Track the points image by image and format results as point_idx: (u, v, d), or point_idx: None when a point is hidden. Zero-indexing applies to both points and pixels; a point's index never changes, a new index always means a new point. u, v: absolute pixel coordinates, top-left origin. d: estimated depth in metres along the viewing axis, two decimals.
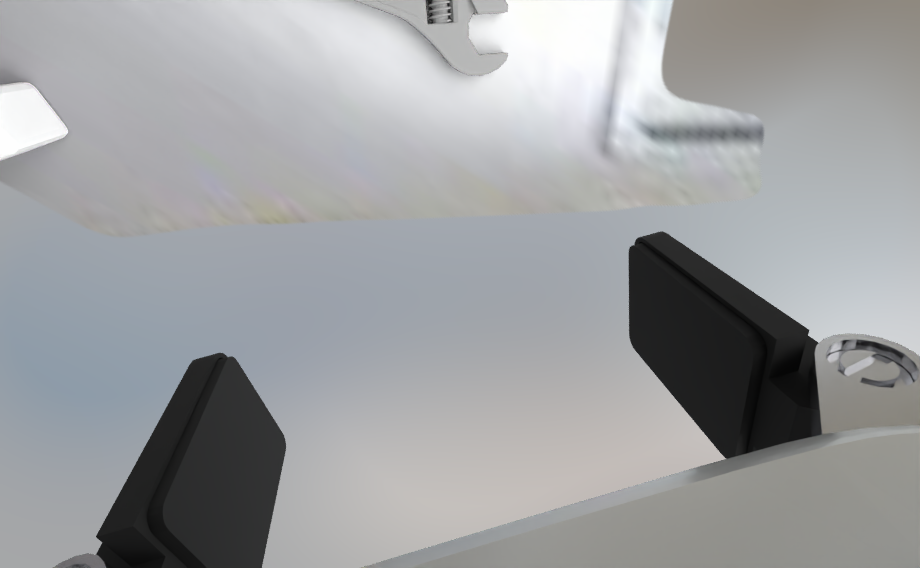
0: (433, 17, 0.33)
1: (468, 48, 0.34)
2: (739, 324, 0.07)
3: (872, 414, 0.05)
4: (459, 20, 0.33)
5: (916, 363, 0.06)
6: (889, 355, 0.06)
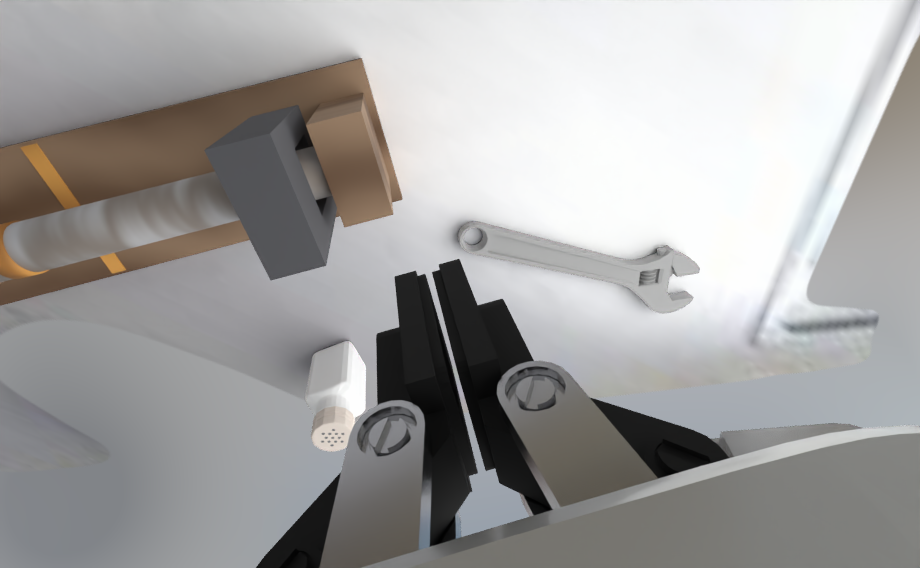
0: (643, 281, 0.42)
1: (665, 297, 0.44)
2: (458, 350, 0.08)
3: (561, 436, 0.06)
4: (662, 281, 0.43)
5: (557, 371, 0.07)
6: (539, 371, 0.07)
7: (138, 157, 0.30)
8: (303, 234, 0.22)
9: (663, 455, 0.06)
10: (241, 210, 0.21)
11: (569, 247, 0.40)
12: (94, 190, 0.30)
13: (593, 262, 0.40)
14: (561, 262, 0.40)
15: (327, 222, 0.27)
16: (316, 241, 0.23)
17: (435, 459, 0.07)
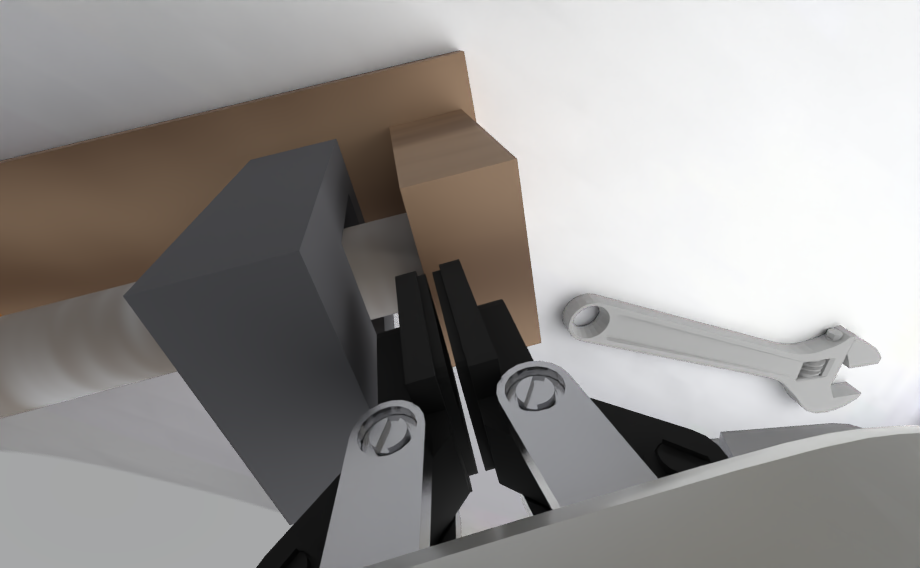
0: (804, 374, 0.30)
1: (826, 393, 0.31)
2: (458, 351, 0.08)
3: (561, 436, 0.06)
4: (828, 374, 0.30)
5: (557, 371, 0.07)
6: (538, 371, 0.07)
7: (77, 217, 0.17)
8: None
9: (663, 455, 0.06)
10: (225, 414, 0.09)
11: (716, 330, 0.27)
12: (4, 271, 0.18)
13: (745, 351, 0.28)
14: (702, 351, 0.27)
15: None
16: None
17: (435, 459, 0.07)
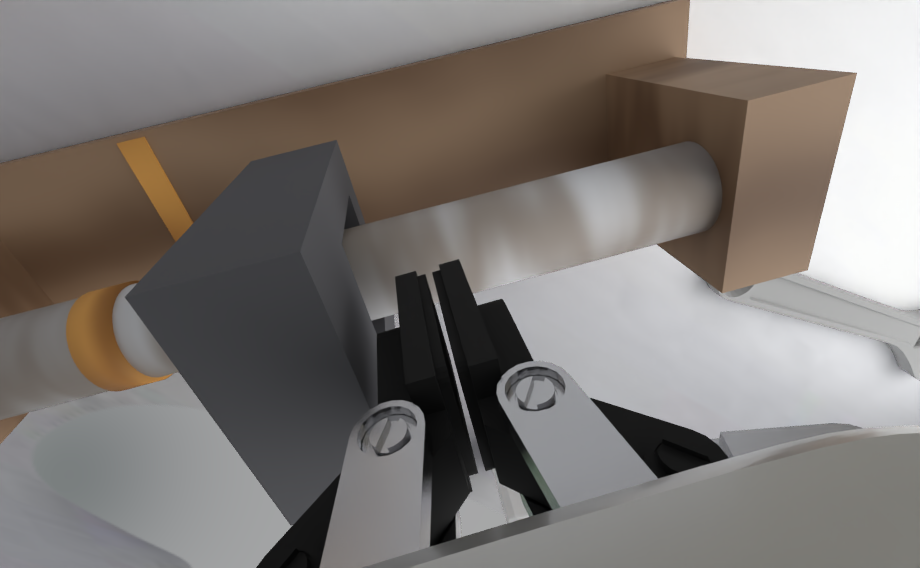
0: None
1: None
2: (458, 351, 0.08)
3: (561, 436, 0.06)
4: None
5: (557, 372, 0.07)
6: (538, 372, 0.07)
7: None
8: None
9: (663, 455, 0.06)
10: (226, 414, 0.09)
11: (849, 293, 0.28)
12: None
13: (873, 315, 0.28)
14: (834, 314, 0.28)
15: None
16: None
17: (435, 459, 0.07)
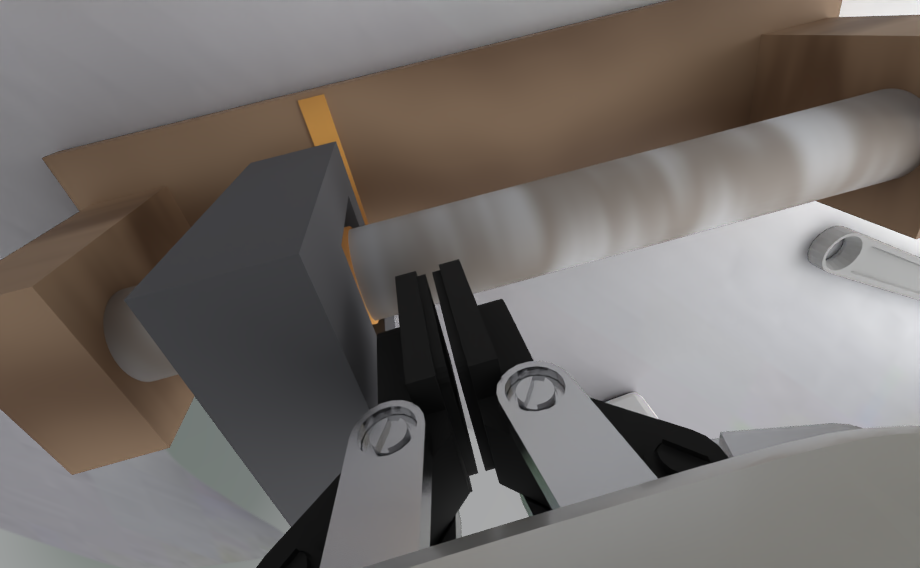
0: None
1: None
2: (458, 350, 0.08)
3: (561, 436, 0.06)
4: None
5: (557, 372, 0.07)
6: (538, 372, 0.07)
7: (469, 121, 0.18)
8: None
9: (663, 455, 0.06)
10: (226, 417, 0.09)
11: None
12: (388, 176, 0.19)
13: None
14: None
15: None
16: None
17: (435, 459, 0.07)
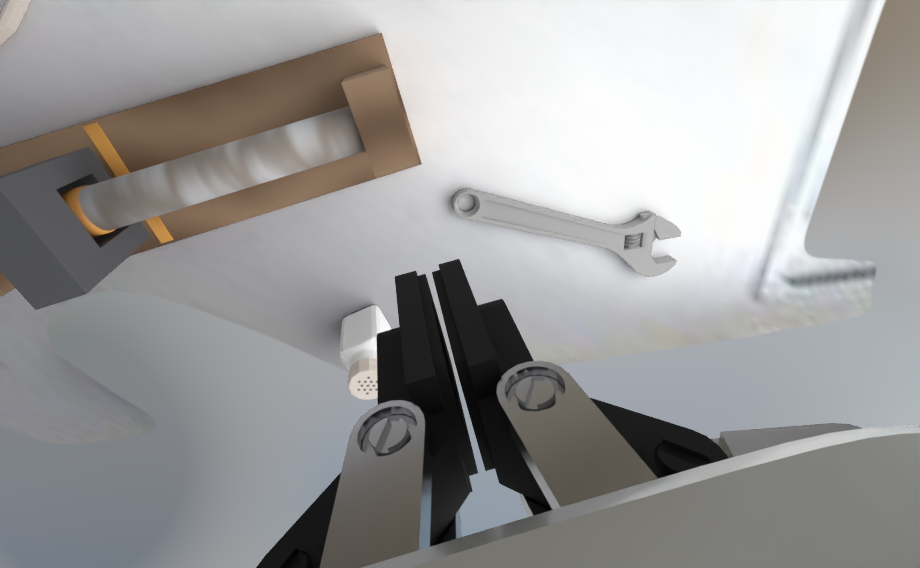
0: (628, 245, 0.45)
1: (649, 260, 0.46)
2: (458, 351, 0.08)
3: (561, 436, 0.06)
4: (646, 245, 0.45)
5: (557, 372, 0.07)
6: (538, 371, 0.07)
7: (185, 132, 0.33)
8: (54, 267, 0.25)
9: (663, 455, 0.06)
10: None
11: (557, 212, 0.42)
12: (146, 164, 0.34)
13: (580, 227, 0.43)
14: (550, 227, 0.43)
15: (113, 253, 0.29)
16: (71, 272, 0.25)
17: (435, 459, 0.07)
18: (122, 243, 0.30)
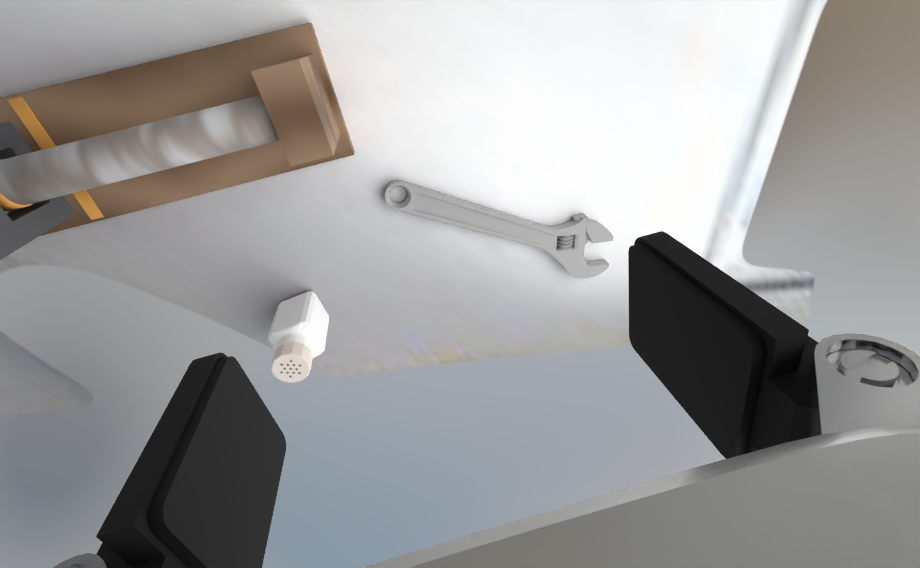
0: (561, 246, 0.46)
1: (582, 262, 0.47)
2: (739, 324, 0.07)
3: (871, 414, 0.05)
4: (578, 247, 0.46)
5: (916, 363, 0.06)
6: (887, 355, 0.06)
7: (113, 111, 0.33)
8: None
9: None
10: None
11: (489, 209, 0.43)
12: (74, 141, 0.34)
13: (512, 225, 0.44)
14: (482, 223, 0.43)
15: (28, 227, 0.30)
16: None
17: None
18: (40, 218, 0.31)
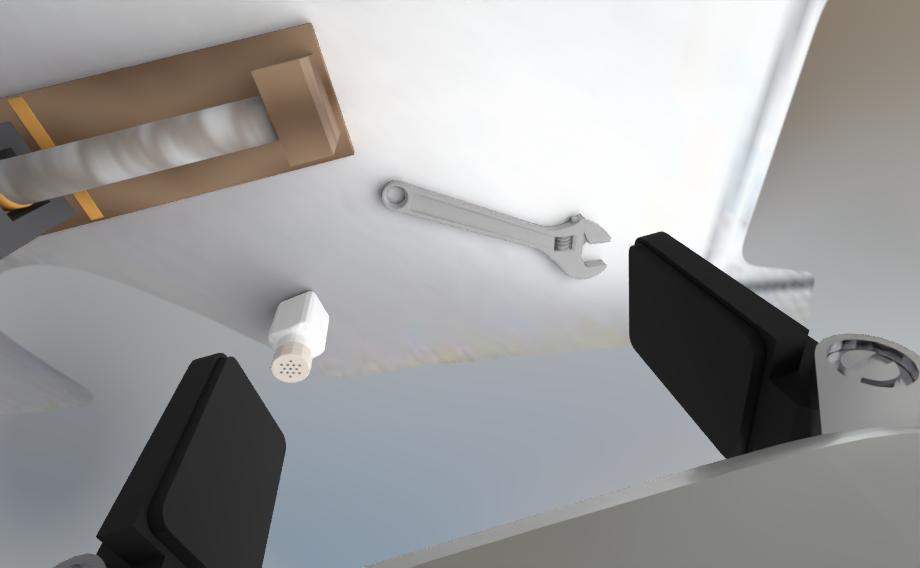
0: (558, 247, 0.46)
1: (579, 263, 0.47)
2: (739, 324, 0.07)
3: (871, 414, 0.05)
4: (576, 248, 0.46)
5: (916, 363, 0.06)
6: (888, 355, 0.06)
7: (113, 111, 0.33)
8: None
9: None
10: None
11: (487, 210, 0.43)
12: (74, 141, 0.34)
13: (509, 226, 0.44)
14: (479, 224, 0.43)
15: (28, 227, 0.30)
16: None
17: None
18: (40, 218, 0.31)
